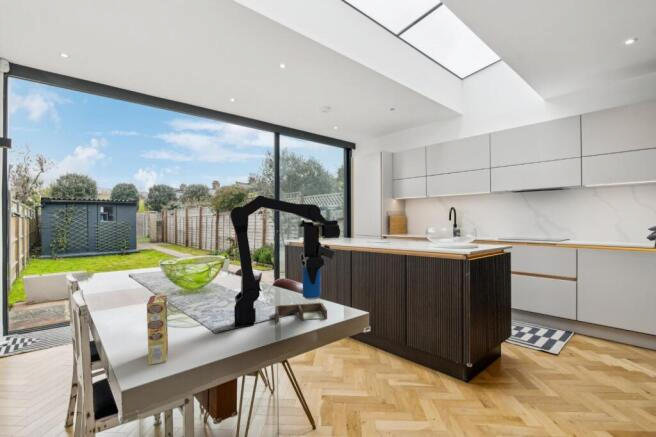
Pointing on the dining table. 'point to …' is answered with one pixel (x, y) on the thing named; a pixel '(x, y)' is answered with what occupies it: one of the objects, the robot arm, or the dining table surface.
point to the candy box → (157, 329)
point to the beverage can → (311, 286)
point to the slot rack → (303, 311)
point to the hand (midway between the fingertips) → (311, 282)
